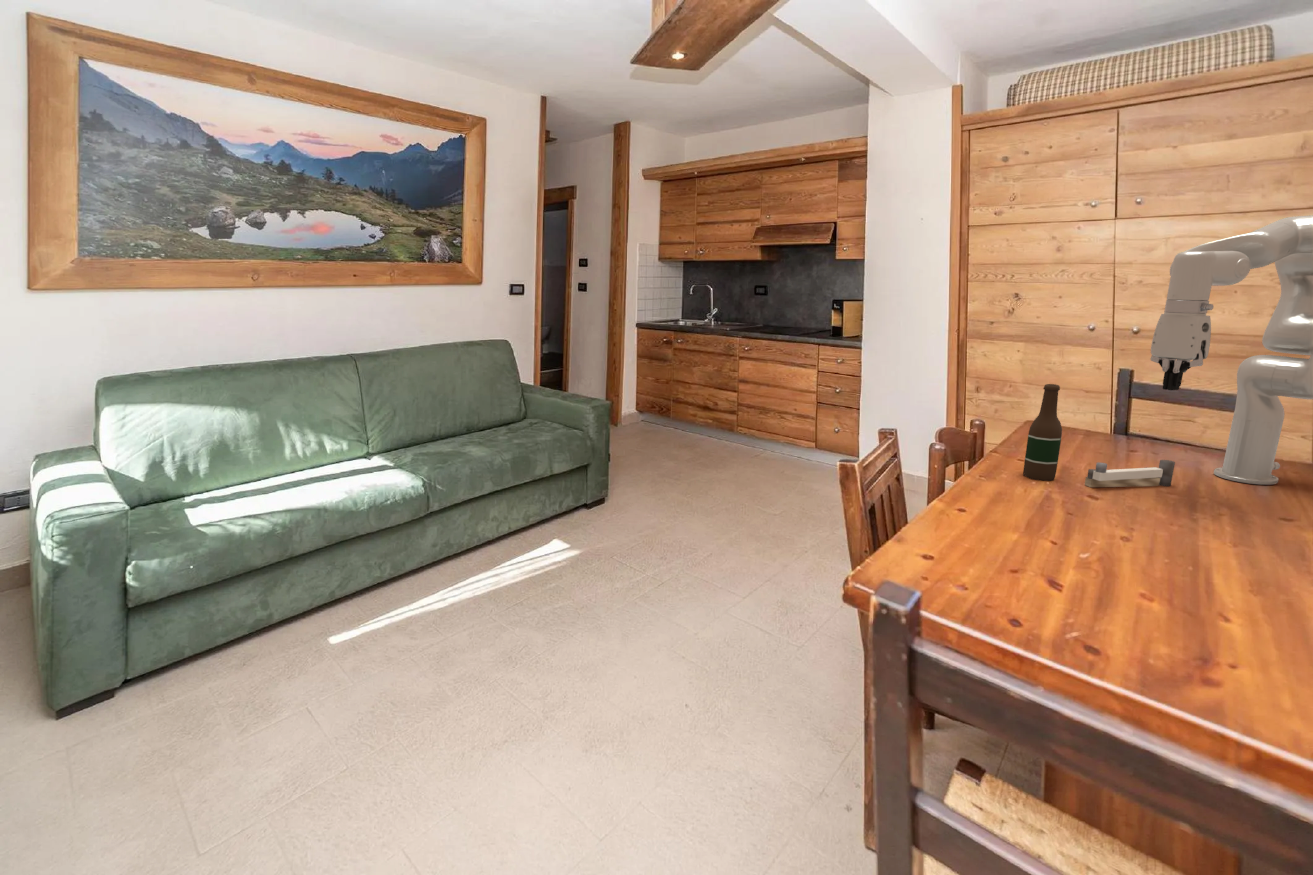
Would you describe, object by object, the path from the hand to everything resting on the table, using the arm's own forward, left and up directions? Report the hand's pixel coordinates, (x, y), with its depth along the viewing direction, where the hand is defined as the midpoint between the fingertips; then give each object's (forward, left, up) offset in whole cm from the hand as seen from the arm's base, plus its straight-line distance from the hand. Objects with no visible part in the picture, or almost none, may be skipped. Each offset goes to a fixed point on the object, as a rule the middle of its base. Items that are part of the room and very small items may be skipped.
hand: (1170, 389), depth 155 cm
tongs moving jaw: (+1, -6, -23) cm, 24 cm away
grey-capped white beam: (-1, -6, -25) cm, 26 cm away
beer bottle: (+14, -19, -25) cm, 35 cm away
